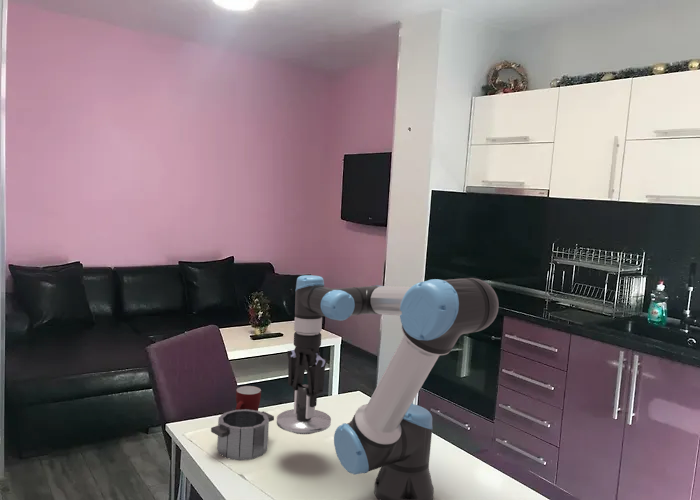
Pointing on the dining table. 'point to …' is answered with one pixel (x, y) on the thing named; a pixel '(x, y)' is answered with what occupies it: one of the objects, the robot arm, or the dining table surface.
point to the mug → (248, 398)
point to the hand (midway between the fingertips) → (304, 414)
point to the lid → (303, 417)
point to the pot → (242, 434)
